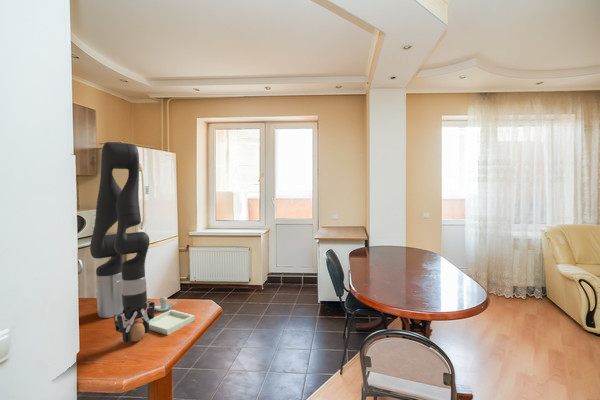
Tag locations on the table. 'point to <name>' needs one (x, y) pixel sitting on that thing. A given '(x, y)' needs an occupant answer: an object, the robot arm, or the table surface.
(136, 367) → the table surface
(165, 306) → the pacifier
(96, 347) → the table surface
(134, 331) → the egg
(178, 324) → the dish
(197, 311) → the table surface
